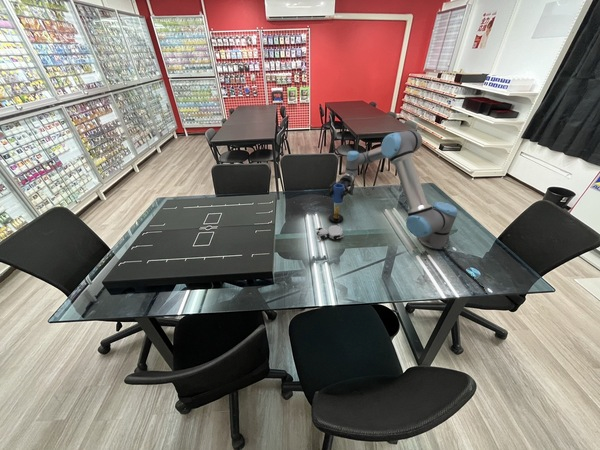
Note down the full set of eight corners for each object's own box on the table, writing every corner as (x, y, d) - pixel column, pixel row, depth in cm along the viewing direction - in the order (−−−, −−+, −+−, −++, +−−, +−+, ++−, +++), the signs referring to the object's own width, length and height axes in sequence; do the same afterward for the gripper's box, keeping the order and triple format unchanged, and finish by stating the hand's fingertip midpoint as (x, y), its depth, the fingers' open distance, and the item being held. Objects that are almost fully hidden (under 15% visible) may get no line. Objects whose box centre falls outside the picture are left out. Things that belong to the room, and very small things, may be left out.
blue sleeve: (343, 203, 148) (344, 188, 142) (332, 202, 148) (333, 187, 143) (342, 198, 153) (344, 183, 147) (332, 198, 153) (333, 183, 148)
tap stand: (343, 224, 154) (344, 210, 149) (328, 223, 155) (329, 209, 150) (342, 216, 162) (344, 203, 156) (329, 215, 162) (329, 202, 157)
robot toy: (318, 244, 139) (344, 241, 139) (317, 238, 136) (344, 235, 136) (315, 231, 149) (340, 229, 149) (315, 225, 146) (340, 222, 147)
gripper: (360, 188, 160) (351, 204, 142) (332, 183, 166) (319, 198, 149) (362, 177, 155) (353, 192, 138) (332, 172, 162) (320, 186, 145)
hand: (335, 195), depth 143 cm, fingers closed on blue sleeve, 6 cm apart
